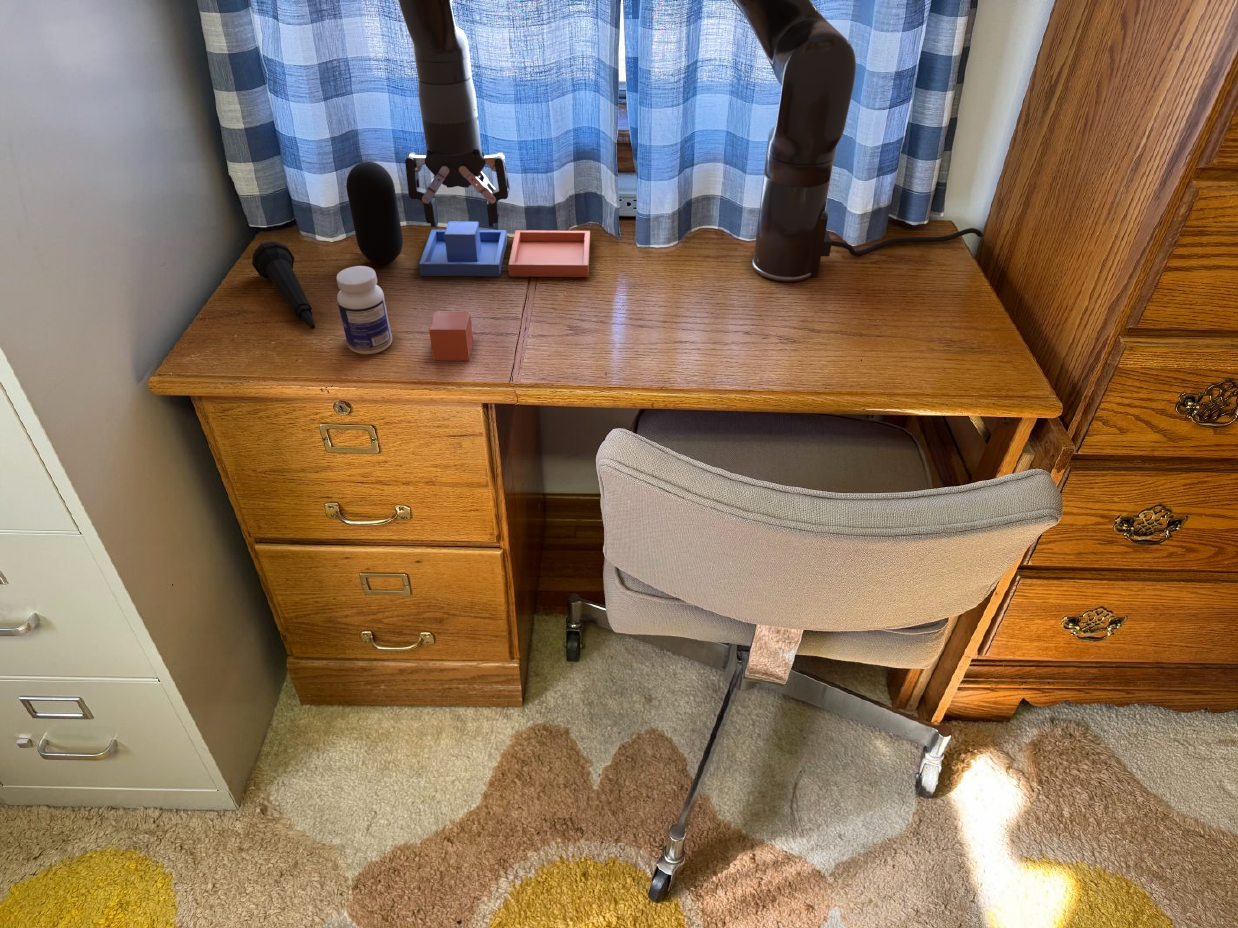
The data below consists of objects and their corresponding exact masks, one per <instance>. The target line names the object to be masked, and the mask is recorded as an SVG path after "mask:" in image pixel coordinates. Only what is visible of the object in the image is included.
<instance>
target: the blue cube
mask: <svg viewBox="0 0 1238 928" xmlns="http://www.w3.org/2000/svg"><path fill="white" fill-rule="evenodd" d="M445 230H446V231H445V233H444V238H445V245H446V253H447V261H448V262H478V259H479V255H480V252H481V242H480V232H479V230H480V224H479V221H461V220H460V221H459V220H458V221H457V220H455V221H453V220H452V221H448V222H447V225H446V228H445Z"/></svg>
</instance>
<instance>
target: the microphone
mask: <svg viewBox="0 0 1238 928" xmlns="http://www.w3.org/2000/svg"><path fill="white" fill-rule="evenodd" d="M294 262H295V257H294V254H293V253H292V252H291V250H290V249H289V247H288V245H286V244H283V243H281V242H278V241H272V240H268V241H264V242H261V243H259V245H258V246H257V247H256V248H255V249H254V252H253V253H252V262H251V265H252V267H253V268H254V270H255V271H256V273H257V274H258V275H259V277H261V278H265V279H267V280H270V281H271V282H272V283H273V285H274V286H275V288H276V289H277V290H278V292H279V293H280V295H281V296H282V297H283V299H284V301H285V302H286V303H287V304H288V306H289V307H290V308H291V310H292V311H293V312H294V314H295V315H296V317H298V318H299V319H300V320H301V321H303V322H304V323H305V324H306V325H307V326H308V327H309V328H310V329H312V330H314V329H315V328H316V324H315V320H314V317H313V312H312V309H313V308H312V306H311V304H310V302H309V300H308V298H307V296H306V293H305V291H304V290H303V288H302V285H301V284H300V282H299V280H298V278H297V275H296V273H295V272H294V270H293V269H294Z"/></svg>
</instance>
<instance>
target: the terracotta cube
mask: <svg viewBox="0 0 1238 928" xmlns="http://www.w3.org/2000/svg"><path fill="white" fill-rule="evenodd" d="M428 332H429V340H430V346H431V353H432V359H433V361H470V359H471V358H470V357H471V354H472V351H473V350H472V349H473V345H474V333H473V325H472V317H471V311H448V310H447V311H446V310H445V311H444V310H443V311H439V310H438V311H437V310H436V311H434V313H433V316H432V319H431V322H430V325H429V328H428Z"/></svg>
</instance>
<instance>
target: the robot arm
mask: <svg viewBox="0 0 1238 928" xmlns="http://www.w3.org/2000/svg"><path fill="white" fill-rule="evenodd" d="M452 1H453V0H397V3H398V5H399V8H400V11H401V14H402V18H403V20H404V23H405V27H406V30H407V32H408V35H409V36H410V38H411V41H412V44H413V52H414V60H415V67H416V74H417V75H416V76H417V82H418V101H419V107H420V114H421V122H422V128H423V135H424V141H425V142H424V143H425V149H426V155H424V154H423V155H421V154H417V153H416V152H415V151H410V152H409V153H408V154H407V156H406V158H405V160H404V165H405V173H406V184H407V194H408V198H409V199H411V200H419V201H421V203H422V204H423V211H424V217H425V221H426V223H427V224H430V227H431V228H437V227H438V224H439V218H438V211H437V210H438V209H437V205H436V204H437V203H436V198H435V197H434V196H435V195H436V194H437V192H438V191H439V189H440V187H441V186H442V185H443V186H445V187H446V188H449V189H450V188H456V187H458V188H459V187H460V188H464V189H466V188H468V189H469V187H471V186H472V187H473V188H474V189H475V190H476V191H477V193H479V194H481V195H482V196H483V197H484V198H485V200H486V210H487V211H486V212H487V221H488V227H489V228H495V226H496V224H498V222H499V218H500V210H499V202H500V200H507V199H508V198H509V193H510V191H511V189H510V188H511V187H510V181H509V175H508V169H507V162H506V160H507V159H506V155H505V153H504V152H502V151H498V152H496V154H488V155H485V153H484V151H483V149H482V142H481V135H480V134H481V133H480V125H479V124H480V123H479V117H478V116H479V115H478V108H479V107H478V101H477V96H476V90H475V86H474V82H473V77H472V68H471V67H472V66H471V60H470V50H469V49H470V48H469V42H468V39H467V36H466V33H465V31H463V29H461V28H460V27H458V26H457V25H456V21H455V17H454V11H453V6H452ZM731 2H732V3H733V4H734V5H735V6H736V7H737V9H739V11H740V12H741V13H742V15H743V17H744V18H745V20H746V21H747V22H748V24H749V26H750V28H751V29H752V31H753V33H754V35H755V37H756V39H757V40H758V42H759V44H760V46H761V48H762V51H763V52H764V54H765V56H766V59H767V61H768V62H769V64H770V67H771V69H772V71H773V74H774V76H775V78H776V80H777V82H778V83H779V85H780V86H781V87H780V88H781V90H780V97H779V103H778V111H777V117H776V121H775V122H776V123H775V125H774V126H773V127H772V128H771V129H770V131H769V133H768V137H767V145H766V154H765V160H764V161H765V163H764V168H763V169H764V170H763V178H762V187H761V194H760V203H759V210H758V218H757V227H756V235H755V241H754V250H753V256H752V262H751V266H752V269H753V270H754V272H755V273H757V274H758V275H759V276H761V277H763V278H766V279H769V280H772V281H777V282H785V283H788V282H789V283H791V282H801V281H804V280H808V279H810V278H817V277H818V276H819V271H820V265H821V258H822V257H830V256H831V251H832V250H831V249H832V247H838V248H842V249H846V250H847V251H848V252H849V254H850V255H851V256H854V257H860V256H863V255H867V254H869V253H872V252H875V251H876V250H878V249H881V248H882V247H883V248H884V247H886V246H889V245H895V244H903V243H939V242H940V243H941V242H949V241H951V240H955V239H958V238H959V237H962V236H965V235H968V234H974V235H976V236H977V237H978V238H984V234H983V232H982V231H981V230H979V229H978V228H974V227H969V228H965V229H961V230H959V231H957V232H955V233H952V234H948V235H941V236H904V237H894V238H889V239H885V240H882V241H879V242H877V243H875V244H873V245H871V246H869V247H867V248H864V249H860V250H859V249H858V250H855V248H854V247H853V246H852V245H851V244H849V243H847V242H844V241H838V240H832V239H831V237H830V235H829V232H828V229H827V226H828V221H829V214H828V212H827V210H826V207H827V201H828V196H829V190H830V185H831V180H832V179H831V178H832V173H833V167H834V160H835V156H836V150H837V147H838V144H839V142H840V141H841V139H842V138H843V135H844V133H845V127H846V124H847V119H848V115H849V110H850V104H851V100H852V95H853V90H854V87H855V86H854V85H855V79H856V70H857V60H856V54H855V50H854V47H853V46H852V44H851V43H850V42H849V40H848V39H847V38H846V37H845V36H844V35H843V34H842V33H841V32H840V31H839V30H838V29H836V27H835V26H833V25H832V24H831V23H830V22H829V21H828V20H827V19H826V18H825V17H824V16H823V14H821V12H820V11H819V10H818V8H817V7H816V6H815V4H814V3H813V2H812V0H731ZM424 165H425V167H426V168H427V169H428V170H429V171H430V173H432V175H433V176H432V179H431V180H430V182H429V184H428V185H427V187H426V189H425V188H423V187H421V184H420V175H419V172H421V171H422V168H423V166H424ZM486 165H487V166H489V168H490V170H491V171H492V172H494V173H495V175H496V182H497V188H496V187H495V186H494V185H493V184H492V183H491V181H490V180H489V178H488V176H486V175H485V173H484V172H483V170H484V168H485V166H486Z"/></svg>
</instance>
